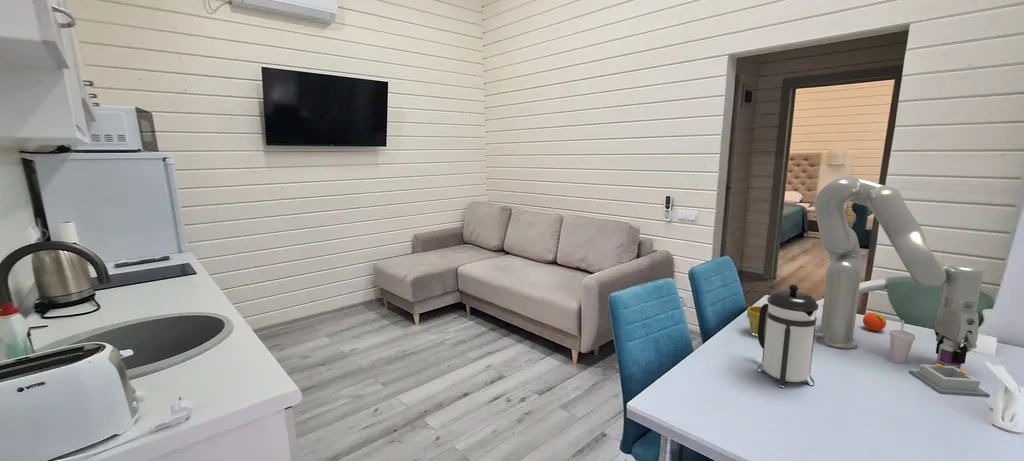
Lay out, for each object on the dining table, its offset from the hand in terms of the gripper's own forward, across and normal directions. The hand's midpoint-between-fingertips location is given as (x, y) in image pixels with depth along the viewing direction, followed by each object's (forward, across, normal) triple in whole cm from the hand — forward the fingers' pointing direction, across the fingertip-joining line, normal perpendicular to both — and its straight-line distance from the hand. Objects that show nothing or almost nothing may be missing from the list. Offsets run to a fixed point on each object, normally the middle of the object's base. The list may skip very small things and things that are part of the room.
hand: (949, 357), depth 134 cm
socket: (+3, -11, +8) cm, 14 cm away
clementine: (+4, +29, +4) cm, 30 cm away
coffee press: (+4, -13, +54) cm, 56 cm away
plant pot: (+4, +19, +48) cm, 52 cm away
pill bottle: (+4, 0, 0) cm, 4 cm away
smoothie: (+4, +3, +12) cm, 13 cm away
